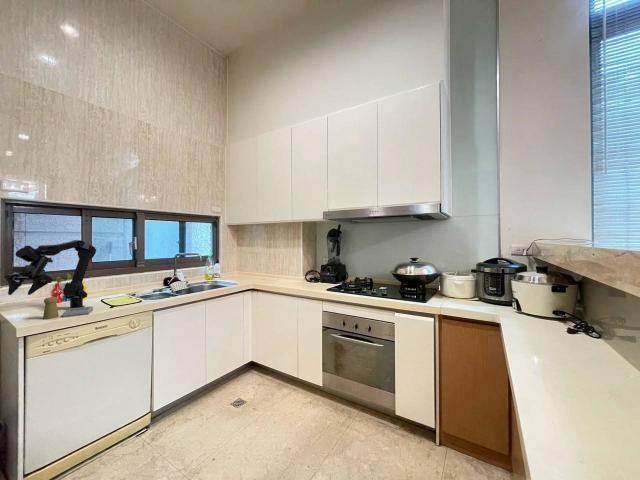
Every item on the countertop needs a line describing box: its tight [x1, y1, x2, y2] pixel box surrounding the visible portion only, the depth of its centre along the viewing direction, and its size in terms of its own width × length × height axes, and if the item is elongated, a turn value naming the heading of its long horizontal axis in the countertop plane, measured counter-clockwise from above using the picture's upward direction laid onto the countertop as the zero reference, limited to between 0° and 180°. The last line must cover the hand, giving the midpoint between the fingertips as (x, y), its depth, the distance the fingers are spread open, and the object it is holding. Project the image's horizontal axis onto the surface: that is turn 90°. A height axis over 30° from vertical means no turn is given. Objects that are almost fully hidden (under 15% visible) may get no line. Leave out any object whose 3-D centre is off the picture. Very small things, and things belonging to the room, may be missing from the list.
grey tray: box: [62, 306, 94, 318], centre depth 147 cm, size 10×10×2 cm
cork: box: [42, 296, 59, 321], centre depth 139 cm, size 6×6×11 cm
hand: (18, 294), depth 127 cm, fingers open, 9 cm apart
